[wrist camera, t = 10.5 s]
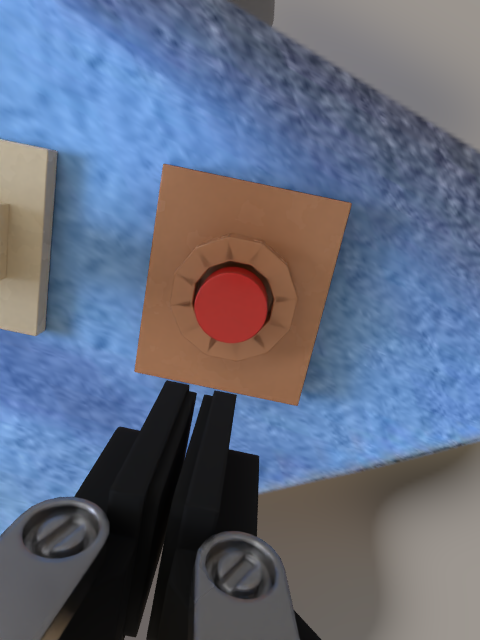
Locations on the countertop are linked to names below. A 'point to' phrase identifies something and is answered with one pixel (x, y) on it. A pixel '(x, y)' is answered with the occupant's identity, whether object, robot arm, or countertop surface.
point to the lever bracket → (25, 234)
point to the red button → (231, 305)
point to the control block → (245, 252)
